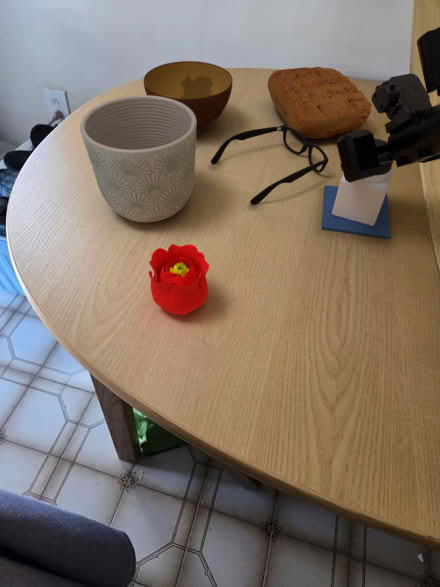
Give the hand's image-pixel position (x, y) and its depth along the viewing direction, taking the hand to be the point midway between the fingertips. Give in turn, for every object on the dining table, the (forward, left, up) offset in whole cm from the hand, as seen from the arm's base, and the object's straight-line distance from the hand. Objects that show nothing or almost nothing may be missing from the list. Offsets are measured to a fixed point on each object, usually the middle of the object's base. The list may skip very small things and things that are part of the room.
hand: (364, 161), depth 68 cm
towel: (-1, +1, -9) cm, 9 cm away
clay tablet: (+8, -30, -9) cm, 32 cm away
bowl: (+34, -21, -9) cm, 41 cm away
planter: (+34, +7, -9) cm, 36 cm away
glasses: (+15, -8, -9) cm, 19 cm away
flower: (+23, +27, -9) cm, 37 cm away
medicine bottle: (-1, +1, -8) cm, 9 cm away
